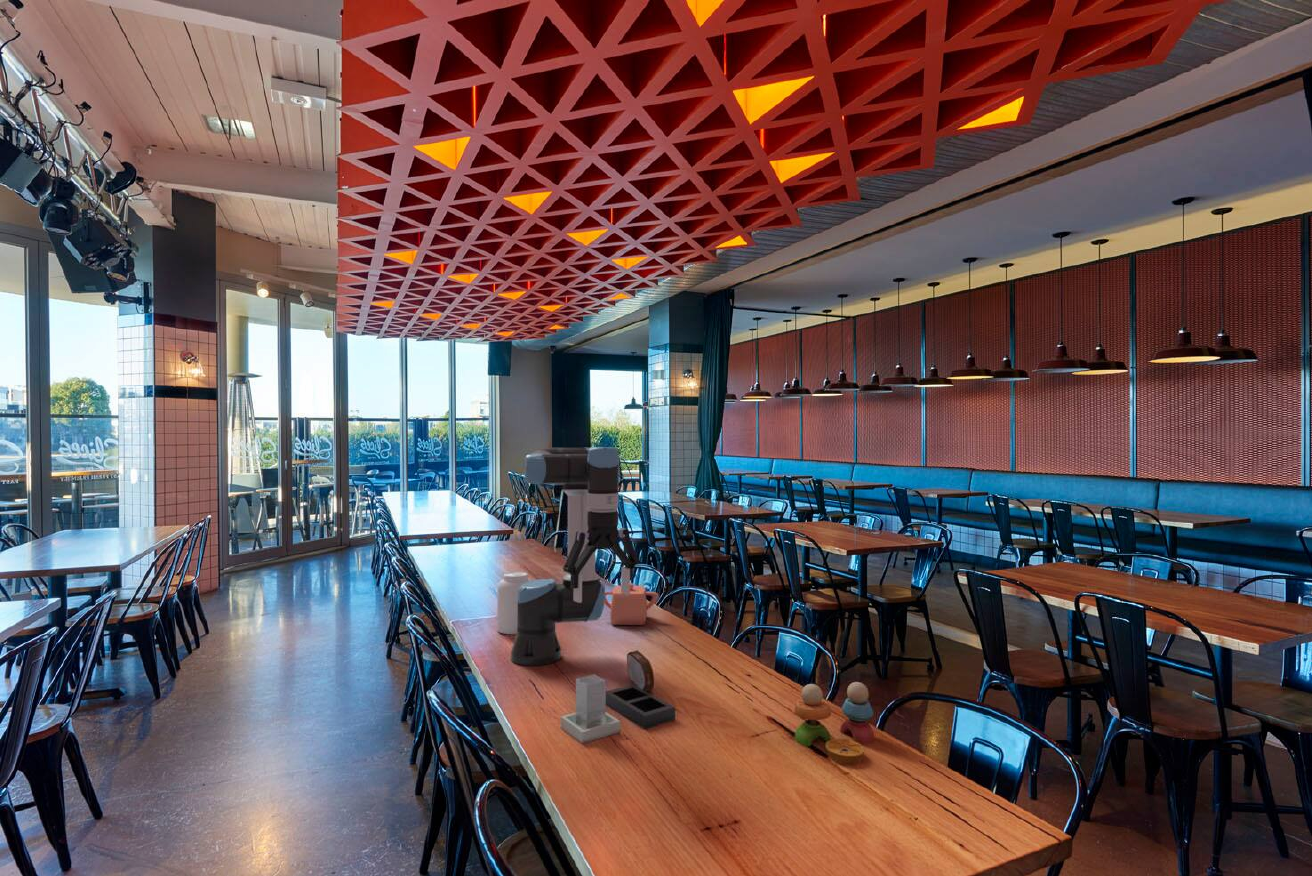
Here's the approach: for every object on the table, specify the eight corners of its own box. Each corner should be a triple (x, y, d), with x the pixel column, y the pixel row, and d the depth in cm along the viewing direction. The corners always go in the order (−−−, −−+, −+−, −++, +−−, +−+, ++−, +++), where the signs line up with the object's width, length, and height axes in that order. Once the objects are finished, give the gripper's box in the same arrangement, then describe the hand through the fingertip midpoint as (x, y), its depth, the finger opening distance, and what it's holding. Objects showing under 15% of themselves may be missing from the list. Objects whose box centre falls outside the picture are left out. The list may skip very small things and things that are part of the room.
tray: (560, 727, 153) (560, 716, 153) (597, 717, 158) (597, 706, 158) (582, 743, 144) (582, 732, 144) (620, 732, 150) (620, 721, 150)
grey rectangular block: (575, 726, 152) (576, 678, 152) (594, 720, 155) (594, 674, 155) (586, 734, 148) (586, 685, 148) (605, 728, 151) (605, 680, 151)
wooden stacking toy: (838, 770, 134) (838, 709, 134) (786, 736, 149) (787, 681, 150) (903, 753, 142) (903, 695, 142) (848, 722, 157) (848, 670, 157)
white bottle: (540, 628, 232) (541, 572, 232) (515, 637, 222) (516, 578, 222) (514, 623, 239) (515, 568, 239) (489, 631, 228) (489, 574, 229)
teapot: (658, 627, 236) (658, 588, 236) (597, 626, 236) (597, 587, 236) (658, 612, 256) (659, 577, 256) (602, 612, 256) (602, 576, 256)
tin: (655, 695, 173) (655, 663, 173) (643, 696, 172) (644, 664, 172) (635, 675, 187) (635, 646, 187) (624, 677, 186) (625, 647, 186)
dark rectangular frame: (603, 703, 167) (603, 691, 167) (633, 695, 172) (633, 684, 172) (644, 729, 152) (644, 716, 152) (675, 719, 157) (675, 707, 157)
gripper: (564, 515, 149) (563, 608, 149) (653, 509, 164) (652, 594, 164) (549, 511, 155) (548, 601, 155) (636, 506, 170) (635, 588, 170)
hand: (602, 597), depth 159 cm, fingers open, 13 cm apart
